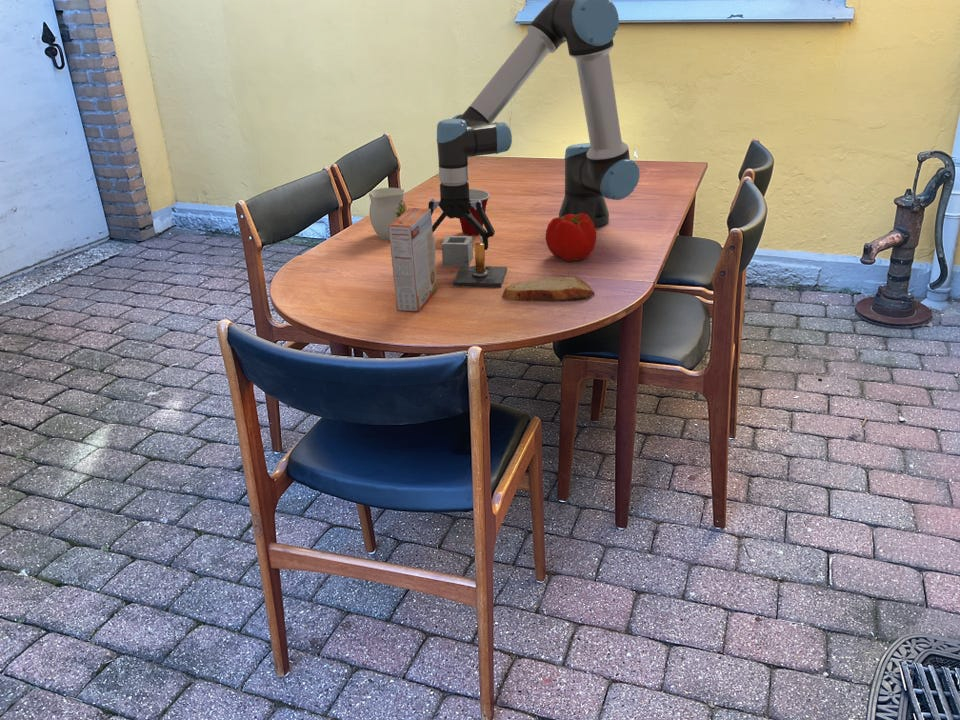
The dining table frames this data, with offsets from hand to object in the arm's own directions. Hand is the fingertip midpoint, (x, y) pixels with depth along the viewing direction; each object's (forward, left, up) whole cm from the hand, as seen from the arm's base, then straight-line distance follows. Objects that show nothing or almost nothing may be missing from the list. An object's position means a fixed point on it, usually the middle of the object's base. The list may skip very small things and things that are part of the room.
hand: (458, 261), depth 217 cm
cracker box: (+5, +28, 0) cm, 28 cm away
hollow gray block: (0, 0, 0) cm, 0 cm away
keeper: (-8, +12, 0) cm, 14 cm away
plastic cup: (0, -25, 0) cm, 25 cm away
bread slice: (-26, +22, -1) cm, 34 cm away
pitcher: (+24, -22, 0) cm, 33 cm away
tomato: (-30, -5, 0) cm, 30 cm away
